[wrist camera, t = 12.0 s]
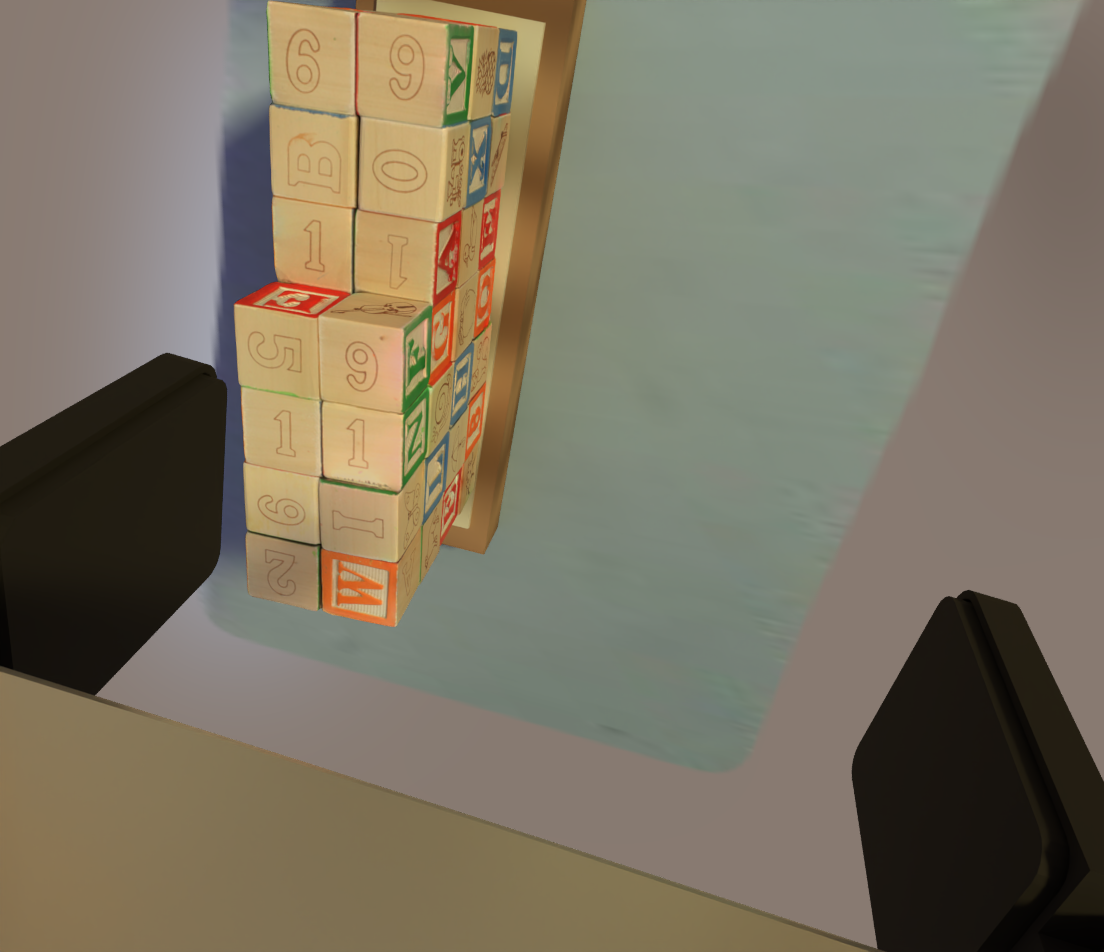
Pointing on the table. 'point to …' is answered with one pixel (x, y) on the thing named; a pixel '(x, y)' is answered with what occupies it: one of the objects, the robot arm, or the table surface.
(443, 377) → the stack of blocks
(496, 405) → the wooden tray
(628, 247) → the table surface
